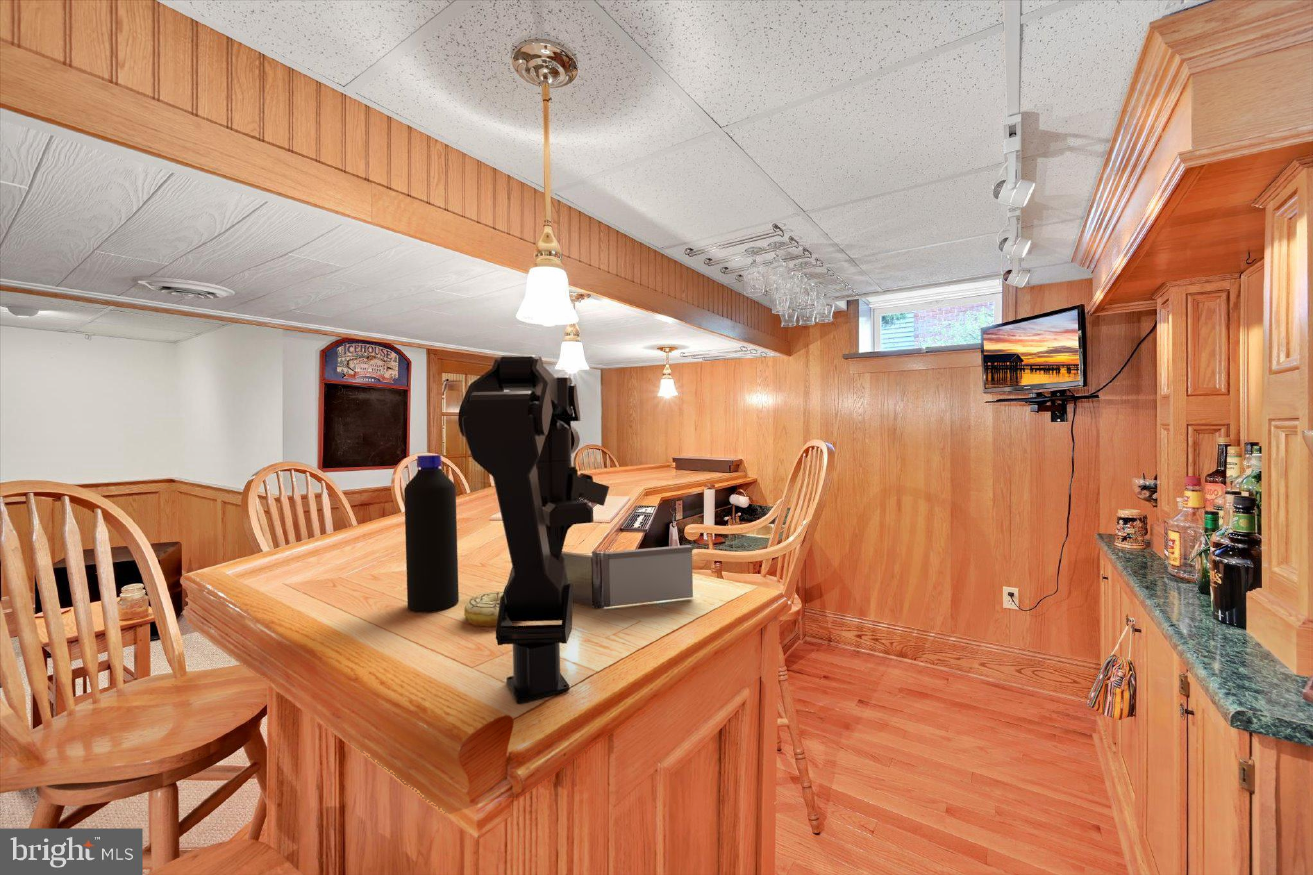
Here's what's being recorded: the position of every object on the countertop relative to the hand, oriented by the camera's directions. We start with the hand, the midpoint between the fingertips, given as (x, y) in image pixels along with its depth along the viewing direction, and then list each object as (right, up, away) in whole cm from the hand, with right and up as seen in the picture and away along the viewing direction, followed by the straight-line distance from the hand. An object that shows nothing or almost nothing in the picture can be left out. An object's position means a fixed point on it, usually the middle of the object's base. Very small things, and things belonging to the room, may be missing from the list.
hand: (554, 563), depth 78 cm
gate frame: (0, -12, +19) cm, 22 cm away
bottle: (-26, -13, +19) cm, 35 cm away
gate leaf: (+14, -11, +17) cm, 24 cm away
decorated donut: (-12, -13, +12) cm, 21 cm away
